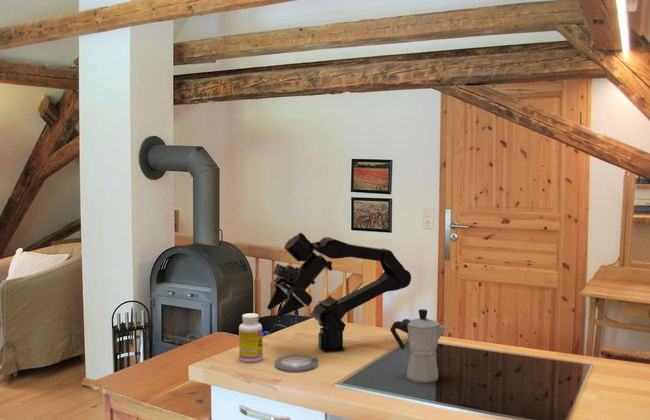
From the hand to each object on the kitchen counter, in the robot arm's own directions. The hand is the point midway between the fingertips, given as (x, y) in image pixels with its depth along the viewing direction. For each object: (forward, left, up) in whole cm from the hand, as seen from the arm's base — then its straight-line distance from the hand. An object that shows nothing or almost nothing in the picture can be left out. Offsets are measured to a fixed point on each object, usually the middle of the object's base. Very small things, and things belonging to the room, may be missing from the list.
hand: (273, 312), depth 179 cm
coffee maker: (-32, +29, -13) cm, 45 cm away
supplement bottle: (+7, +1, -13) cm, 15 cm away
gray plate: (-4, +10, -13) cm, 17 cm away
